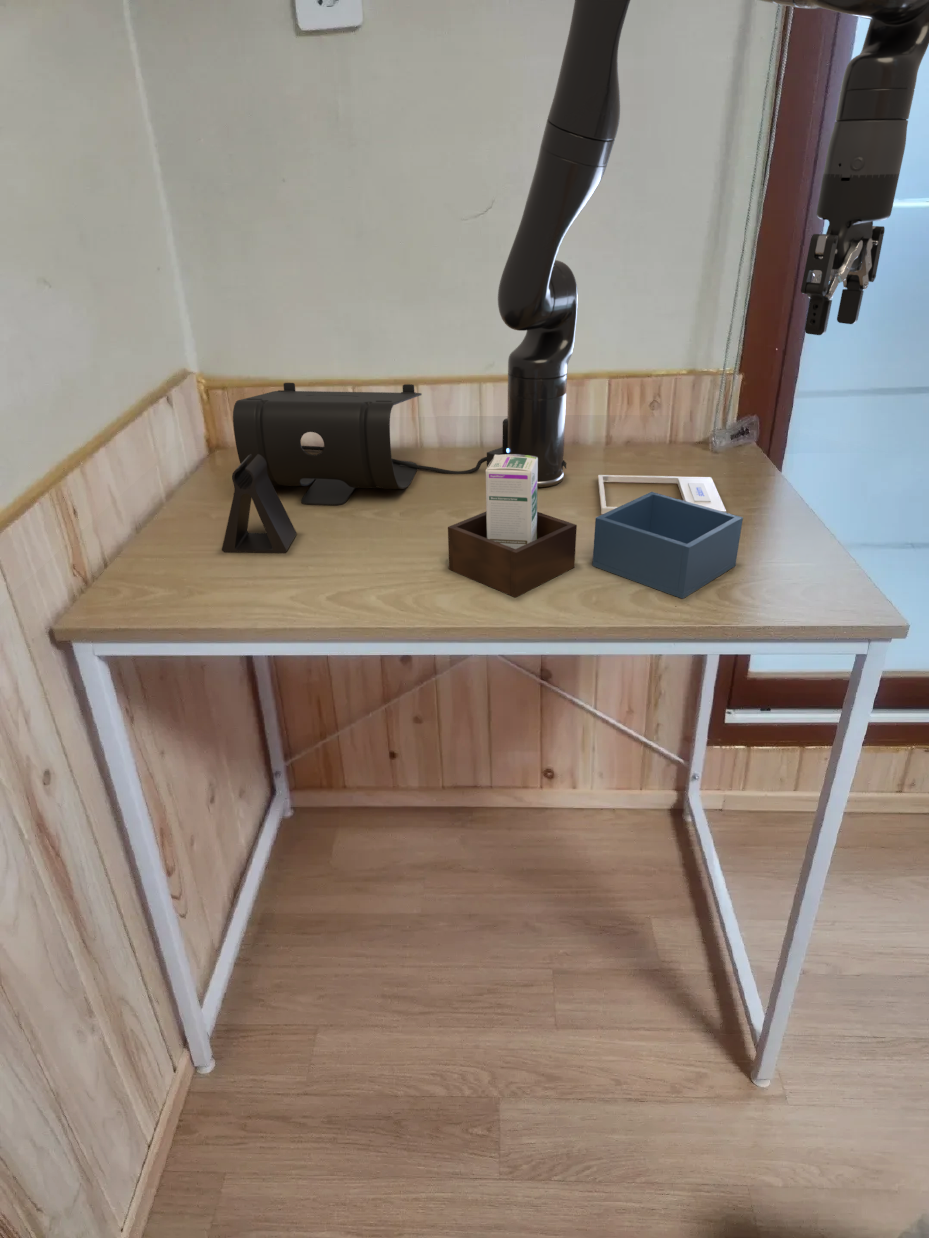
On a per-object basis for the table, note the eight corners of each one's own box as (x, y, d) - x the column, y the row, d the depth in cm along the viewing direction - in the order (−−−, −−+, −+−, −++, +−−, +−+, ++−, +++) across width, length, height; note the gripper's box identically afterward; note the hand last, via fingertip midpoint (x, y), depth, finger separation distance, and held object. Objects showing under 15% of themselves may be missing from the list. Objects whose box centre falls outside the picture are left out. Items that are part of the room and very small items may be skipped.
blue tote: (592, 566, 110) (595, 517, 107) (647, 537, 118) (651, 491, 115) (682, 599, 102) (689, 547, 98) (735, 566, 110) (743, 517, 106)
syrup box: (531, 579, 107) (534, 470, 100) (485, 576, 108) (485, 467, 101) (537, 560, 112) (540, 454, 105) (493, 557, 113) (493, 452, 106)
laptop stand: (238, 506, 131) (223, 406, 123) (284, 457, 151) (273, 369, 144) (400, 511, 128) (395, 409, 120) (425, 460, 148) (422, 371, 141)
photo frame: (726, 510, 123) (601, 507, 125) (725, 517, 124) (601, 514, 125) (711, 476, 136) (598, 473, 137) (710, 482, 136) (597, 480, 138)
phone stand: (297, 535, 120) (287, 454, 114) (286, 553, 115) (275, 468, 109) (235, 534, 121) (222, 453, 115) (222, 552, 116) (207, 468, 110)
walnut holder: (448, 569, 110) (447, 526, 107) (508, 542, 117) (508, 502, 114) (515, 597, 103) (516, 552, 100) (574, 567, 110) (576, 524, 107)
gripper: (854, 168, 97) (825, 316, 104) (797, 171, 88) (771, 333, 96) (922, 168, 92) (887, 324, 100) (870, 172, 83) (836, 342, 91)
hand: (830, 328), depth 98 cm, fingers open, 8 cm apart
